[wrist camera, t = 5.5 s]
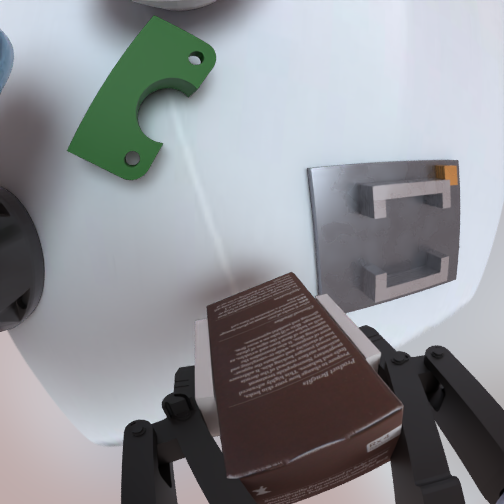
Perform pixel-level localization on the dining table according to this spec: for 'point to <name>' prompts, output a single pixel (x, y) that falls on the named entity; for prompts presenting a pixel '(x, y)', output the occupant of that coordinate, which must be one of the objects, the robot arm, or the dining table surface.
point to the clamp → (139, 96)
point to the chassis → (384, 229)
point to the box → (295, 395)
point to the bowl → (176, 4)
